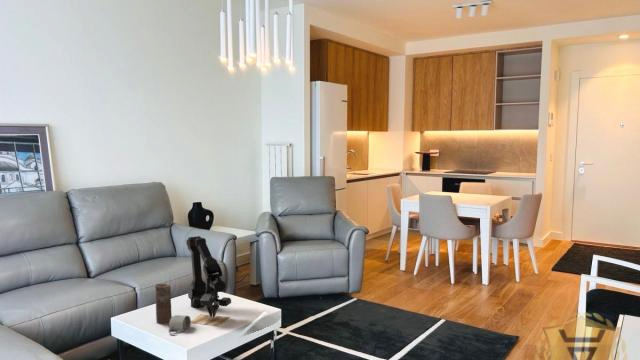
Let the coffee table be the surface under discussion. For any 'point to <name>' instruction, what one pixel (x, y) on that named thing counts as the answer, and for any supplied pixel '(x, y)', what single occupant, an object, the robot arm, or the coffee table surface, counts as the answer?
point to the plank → (201, 319)
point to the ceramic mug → (179, 323)
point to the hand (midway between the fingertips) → (212, 317)
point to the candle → (163, 303)
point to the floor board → (217, 321)
